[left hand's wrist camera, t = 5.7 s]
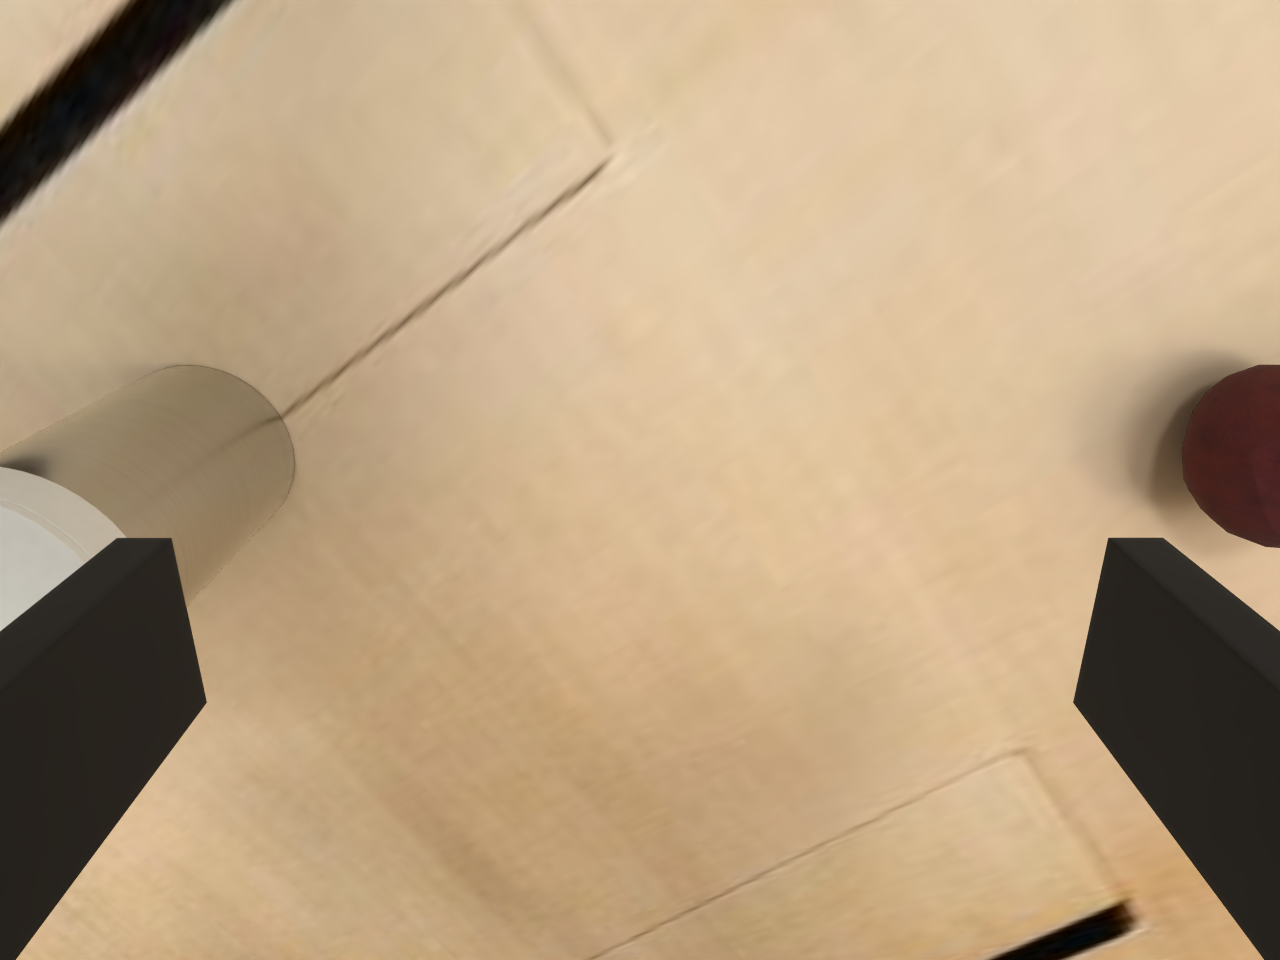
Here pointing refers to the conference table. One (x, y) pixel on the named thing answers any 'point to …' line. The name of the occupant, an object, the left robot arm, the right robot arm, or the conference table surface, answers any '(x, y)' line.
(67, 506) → the lid
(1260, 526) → the dark maroon ball
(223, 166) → the conference table surface
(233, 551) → the jar
